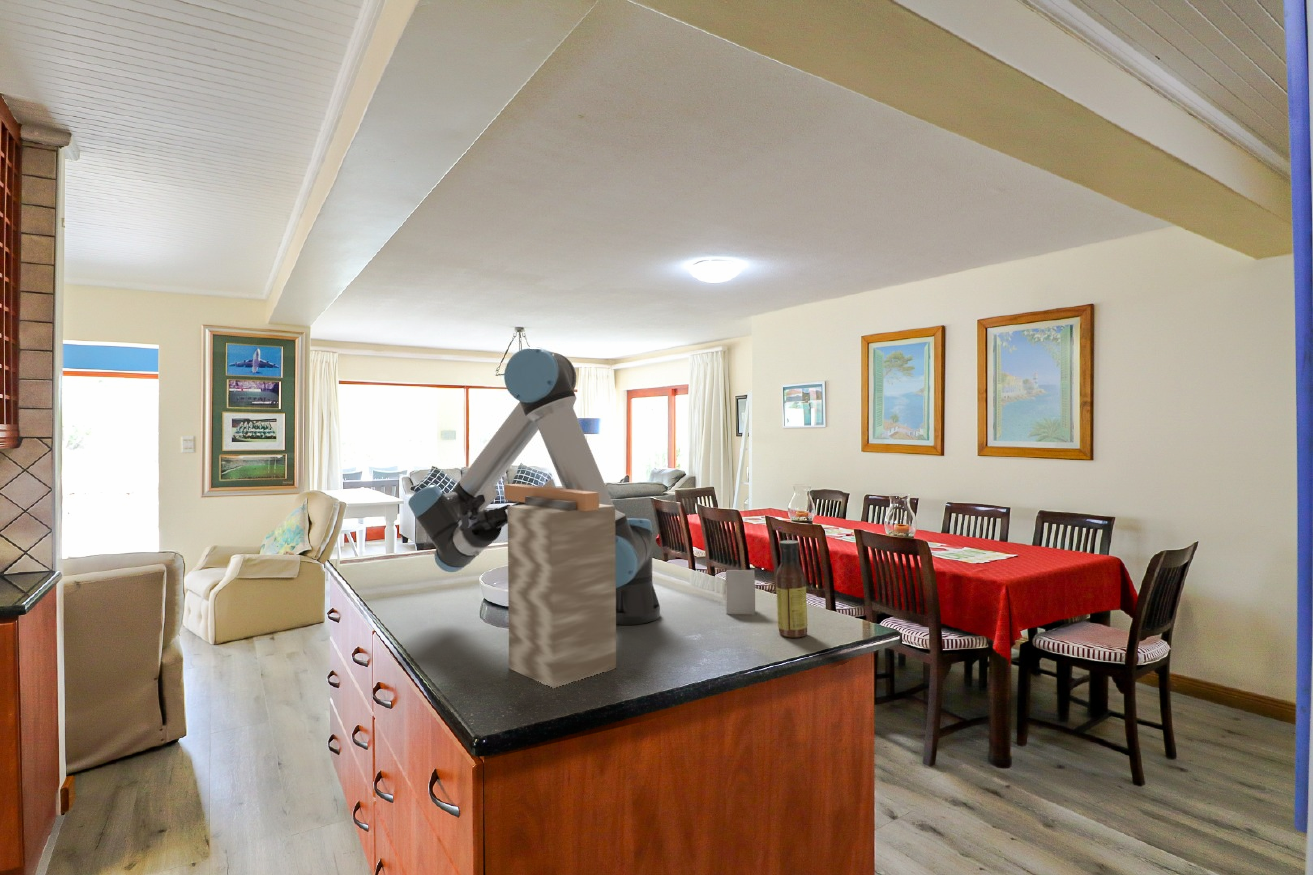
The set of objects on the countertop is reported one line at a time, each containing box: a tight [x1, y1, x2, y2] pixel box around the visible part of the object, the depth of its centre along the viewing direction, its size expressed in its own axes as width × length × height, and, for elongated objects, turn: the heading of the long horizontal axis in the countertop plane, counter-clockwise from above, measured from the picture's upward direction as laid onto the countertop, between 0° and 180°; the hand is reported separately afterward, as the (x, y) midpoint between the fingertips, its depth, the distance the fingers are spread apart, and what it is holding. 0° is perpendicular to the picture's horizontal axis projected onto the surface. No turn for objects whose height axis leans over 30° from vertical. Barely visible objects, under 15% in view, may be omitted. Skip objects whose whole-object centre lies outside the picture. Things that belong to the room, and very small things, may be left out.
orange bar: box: [503, 483, 599, 511], centre depth 130 cm, size 26×3×3 cm, turn 44°
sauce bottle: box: [775, 539, 808, 639], centre depth 148 cm, size 6×6×20 cm
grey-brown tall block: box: [507, 496, 617, 690], centre depth 128 cm, size 14×14×32 cm
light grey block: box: [725, 569, 756, 615], centre depth 166 cm, size 4×7×10 cm, turn 88°
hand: (524, 487), depth 136 cm, fingers open, 13 cm apart
